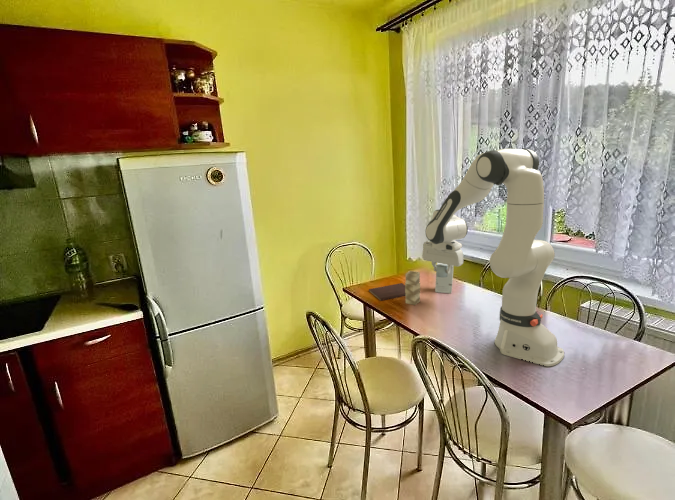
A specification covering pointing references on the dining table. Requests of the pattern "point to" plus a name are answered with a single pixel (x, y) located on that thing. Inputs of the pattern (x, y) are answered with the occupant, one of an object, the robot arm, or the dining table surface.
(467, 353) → the dining table surface
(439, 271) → the blue-grey rounded cube
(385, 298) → the notebook
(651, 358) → the dining table surface
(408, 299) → the tower base
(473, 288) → the dining table surface
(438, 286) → the skincare box
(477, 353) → the dining table surface
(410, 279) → the tower top
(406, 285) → the tower mid
